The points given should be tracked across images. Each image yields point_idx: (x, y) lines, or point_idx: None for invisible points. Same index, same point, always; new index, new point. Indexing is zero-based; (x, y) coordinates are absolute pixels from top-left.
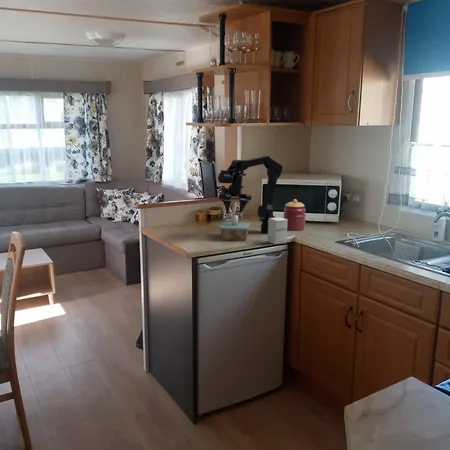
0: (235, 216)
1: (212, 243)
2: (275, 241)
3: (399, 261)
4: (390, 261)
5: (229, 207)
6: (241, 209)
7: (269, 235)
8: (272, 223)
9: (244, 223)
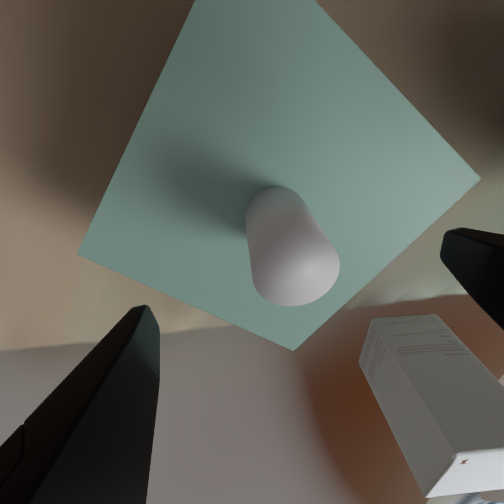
0: (278, 304)
1: (58, 259)
2: (364, 373)
3: (466, 500)
4: (452, 499)
5: (145, 472)
6: (489, 304)
7: (383, 356)
8: (418, 449)
9: (409, 187)
